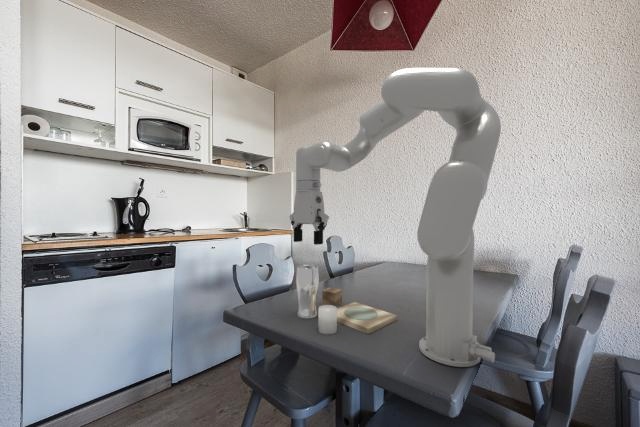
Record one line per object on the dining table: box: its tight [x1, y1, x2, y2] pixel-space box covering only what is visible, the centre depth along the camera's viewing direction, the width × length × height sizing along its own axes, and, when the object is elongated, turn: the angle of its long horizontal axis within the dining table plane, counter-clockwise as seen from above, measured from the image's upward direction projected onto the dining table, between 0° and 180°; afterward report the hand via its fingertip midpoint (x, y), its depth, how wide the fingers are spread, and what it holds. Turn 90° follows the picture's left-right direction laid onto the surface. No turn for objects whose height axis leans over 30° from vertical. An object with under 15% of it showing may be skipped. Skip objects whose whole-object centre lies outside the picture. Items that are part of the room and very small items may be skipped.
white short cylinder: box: [317, 304, 338, 335], centre depth 73 cm, size 5×5×6 cm
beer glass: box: [295, 264, 320, 320], centre depth 84 cm, size 7×7×15 cm
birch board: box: [337, 301, 398, 335], centre depth 82 cm, size 16×14×2 cm
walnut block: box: [321, 286, 343, 308], centre depth 95 cm, size 5×5×5 cm
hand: (307, 242), depth 84 cm, fingers open, 9 cm apart
